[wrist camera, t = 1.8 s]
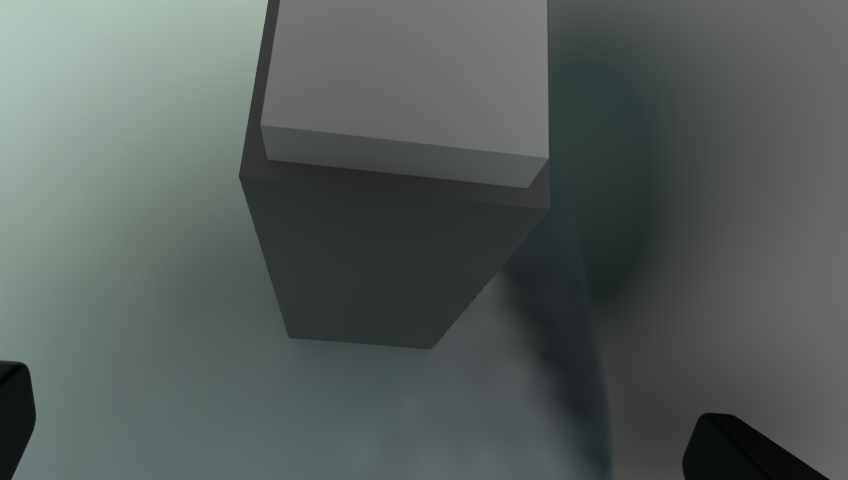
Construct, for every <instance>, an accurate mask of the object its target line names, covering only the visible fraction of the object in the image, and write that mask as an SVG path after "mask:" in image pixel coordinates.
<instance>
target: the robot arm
mask: <svg viewBox="0 0 848 480" xmlns="http://www.w3.org/2000/svg"><path fill="white" fill-rule="evenodd" d="M35 421H36V410H35V403H34V396H33V390H32V383H31V377H30V372H29V369H28V367H27V365H25V364H24V363H22V362H15V361H2V360H0V480H11V479H12V477H13V475H14V473H15V471H16V468H17V466H18V464H19V462H20V459H21V457H22V455H23V453H24V451H25V448H26V446H27V444H28V442H29V439H30V437H31V435H32V432H33V430H34V426H35ZM682 467H683V474H684V478H685V480H829V479H828V478H826V477H825V476H823V475H822V474H821V473H819V472H818V471H816V470H815V469H813V468H812V467H810V466H809V465H807V464H806V463H804V462H803V461H801V460H799V459H798V458H797V457H795V456H794V455H792V454H791V453H789V452H788V451H786V450H785V449H783V448H782V447H780V446H779V445H777V444H776V443H775V442H773V441H772V440H770V439H768V438H767V437H766V436H764V435H763V434H761V433H759V432H758V431H757V430H755V429H754V428H752V427H751V426H749V425H748V424H746V423H745V422H743V421H742V420H740V419H739V418H737V417H736V416H734V415H730V414H722V413H705V414H703V415H701V416H700V417H699V419H698V421H697V423H696V426H695V428H694V430H693V433H692V435H691V438H690V441H689V443H688V445H687V448H686V450H685V453H684V456H683V461H682Z"/></svg>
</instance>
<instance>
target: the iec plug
mask: <svg viewBox="0 0 848 480" xmlns="http://www.w3.org/2000/svg"><path fill="white" fill-rule="evenodd" d="M548 31H549V30H548V0H268V6H267V12H266V18H265V24H264V30H263V36H262V42H261V48H260V54H259V60H258V66H257V72H256V78H255V84H254V90H253V95H252V101H251V107H250V113H249V119H248V125H247V131H246V137H245V143H244V149H243V155H242V161H241V167H240V173H239V178H240V181H241V184H242V188H243V191H244V194H245V197H246V200H247V204H248V207H249V210H250V213H251V217H252V220H253V223H254V226H255V230H256V233H257V236H258V239H259V242H260V246H261V249H262V252H263V255H264V259H265V262H266V265H267V268H268V272H269V275H270V278H271V281H272V285H273V288H274V291H275V294H276V297H277V301H278V304H279V307H280V310H281V314H282V317H283V320H284V323H285V327H286V330H287V333H288V336H289V338H300V339H312V340H325V341H337V342H349V343H362V344H374V345H387V346H399V347H412V348H424V349H432V347H433V346H434V345H435V344H436V343H437V342H438V340H439V339H440V338H441V337H442V336H443V335H444V333H445V332H446V331H447V330H448V329H449V328H450V326H451V325H452V324H453V323H454V322H455V321H456V319H457V318H458V317H459V316H460V315H461V314H462V312H463V311H464V310H465V309H466V308H467V307H468V305H469V304H470V303H471V302H472V301H473V300H474V298H475V297H476V296H477V295H478V294H479V292H480V291H481V290H482V289H483V288H484V287H485V285H486V284H487V283H488V282H489V281H490V280H491V278H492V277H493V276H494V275H495V274H496V273H497V271H498V270H499V269H500V268H501V267H502V266H503V264H504V263H505V262H506V261H507V260H508V259H509V257H510V256H511V255H512V254H513V253H514V252H515V250H516V249H517V248H518V247H519V246H520V245H521V243H522V242H523V241H524V240H525V239H526V237H527V236H528V235H529V234H530V233H531V232H532V230H533V229H534V228H535V227H536V226H537V225H538V223H539V222H540V221H541V220H542V219H543V218H544V216H545V215H546V214H547V213H548V212H549V211H550V209H551V204H550V116H549V32H548Z"/></svg>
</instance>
